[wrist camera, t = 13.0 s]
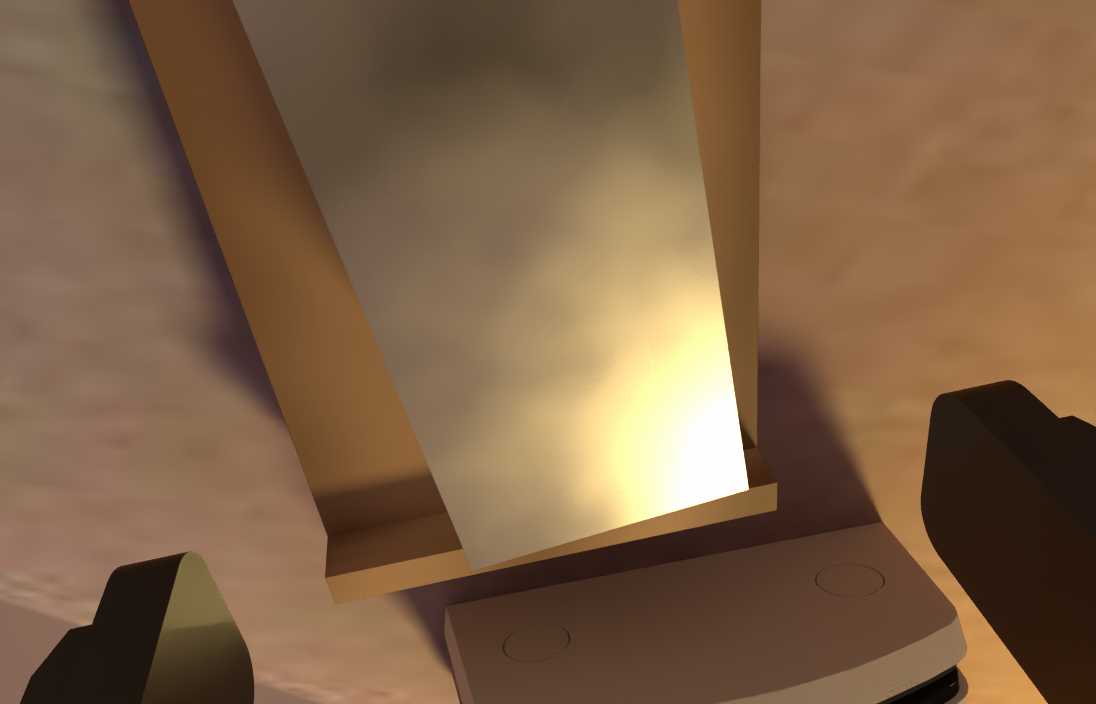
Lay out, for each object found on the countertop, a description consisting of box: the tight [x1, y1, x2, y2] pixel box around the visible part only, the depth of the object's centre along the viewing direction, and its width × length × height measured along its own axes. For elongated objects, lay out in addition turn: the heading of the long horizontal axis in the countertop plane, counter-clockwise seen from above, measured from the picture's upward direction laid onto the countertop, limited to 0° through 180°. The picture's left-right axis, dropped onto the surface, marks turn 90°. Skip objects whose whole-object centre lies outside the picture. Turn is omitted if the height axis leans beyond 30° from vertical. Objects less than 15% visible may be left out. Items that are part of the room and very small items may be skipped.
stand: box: [129, 0, 777, 604], centre depth 19 cm, size 12×22×5 cm, turn 7°
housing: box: [232, 0, 748, 571], centre depth 16 cm, size 6×12×6 cm, turn 13°
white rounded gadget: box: [444, 522, 968, 704], centre depth 29 cm, size 17×5×10 cm, turn 95°
